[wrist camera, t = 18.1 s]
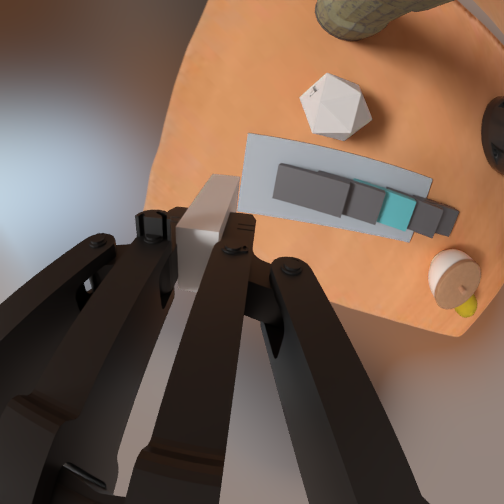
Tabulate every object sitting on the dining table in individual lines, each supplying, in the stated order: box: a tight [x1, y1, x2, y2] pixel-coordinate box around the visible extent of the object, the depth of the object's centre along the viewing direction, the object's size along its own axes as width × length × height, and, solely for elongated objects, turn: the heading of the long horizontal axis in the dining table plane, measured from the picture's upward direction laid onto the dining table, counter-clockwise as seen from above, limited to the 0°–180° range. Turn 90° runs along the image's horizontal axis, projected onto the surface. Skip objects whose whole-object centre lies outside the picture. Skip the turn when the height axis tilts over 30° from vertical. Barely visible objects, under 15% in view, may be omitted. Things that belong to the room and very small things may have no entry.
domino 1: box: [272, 163, 350, 218], centre depth 37 cm, size 2×5×10 cm
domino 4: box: [413, 194, 459, 237], centre depth 39 cm, size 2×5×10 cm
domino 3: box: [386, 186, 444, 238], centre depth 38 cm, size 2×5×10 cm
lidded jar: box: [428, 249, 481, 309], centre depth 41 cm, size 11×11×9 cm
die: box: [299, 73, 372, 141], centre depth 30 cm, size 8×9×10 cm
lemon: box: [454, 294, 477, 318], centre depth 45 cm, size 6×6×8 cm
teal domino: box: [353, 178, 416, 232], centre depth 38 cm, size 2×5×10 cm
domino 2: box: [318, 170, 386, 225], centre depth 38 cm, size 2×5×10 cm
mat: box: [237, 133, 432, 242], centre depth 40 cm, size 30×12×1 cm, turn 82°
